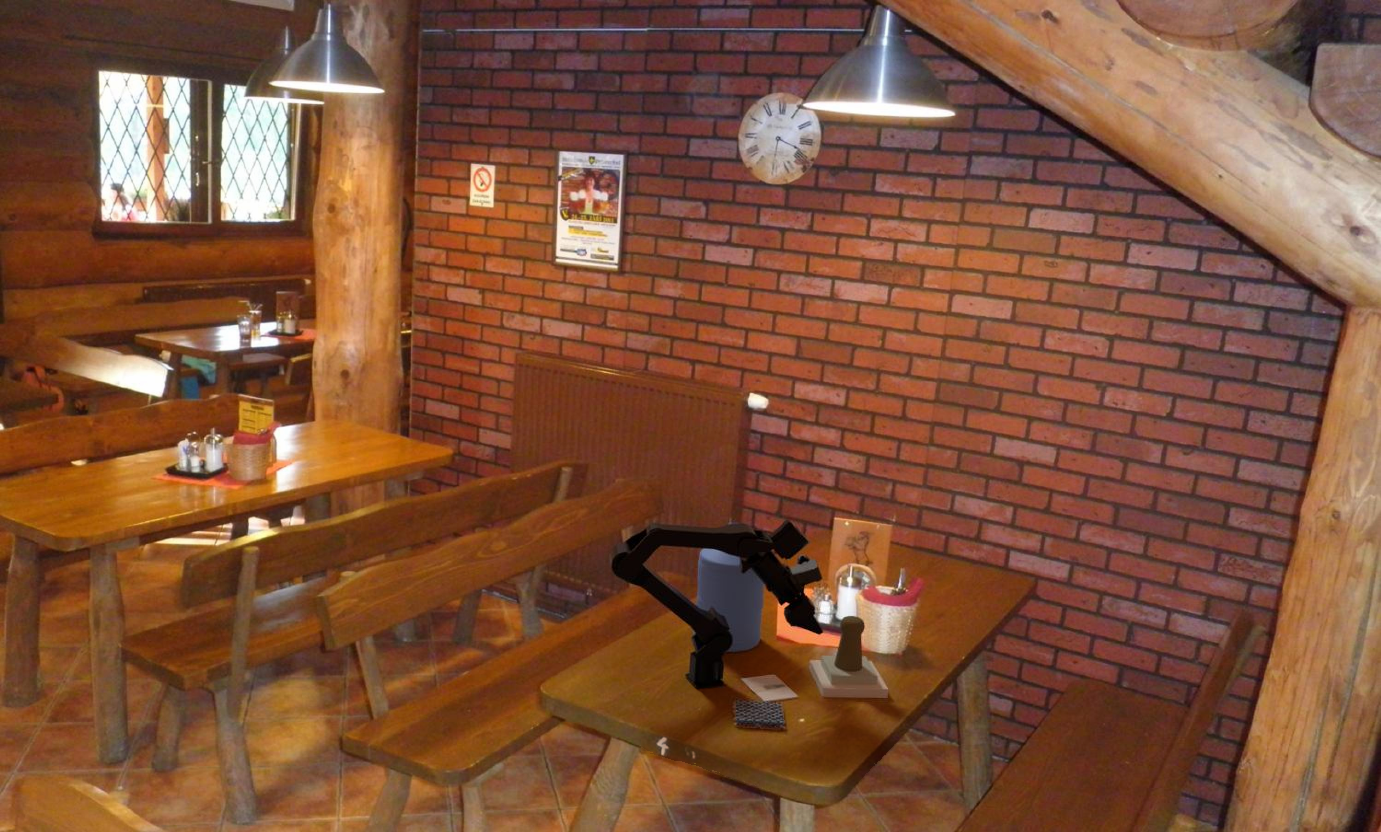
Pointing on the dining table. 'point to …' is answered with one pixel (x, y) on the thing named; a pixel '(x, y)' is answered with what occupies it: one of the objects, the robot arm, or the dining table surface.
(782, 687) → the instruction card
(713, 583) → the water jug
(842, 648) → the brown tapered knobbed post
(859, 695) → the tower base
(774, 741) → the dining table surface
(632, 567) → the robot arm
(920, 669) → the dining table surface
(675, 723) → the dining table surface
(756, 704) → the woven mat
